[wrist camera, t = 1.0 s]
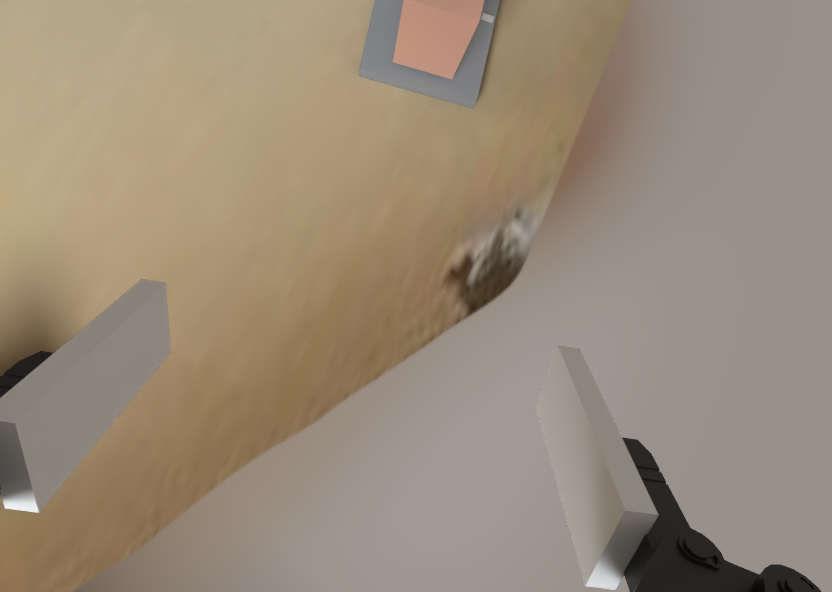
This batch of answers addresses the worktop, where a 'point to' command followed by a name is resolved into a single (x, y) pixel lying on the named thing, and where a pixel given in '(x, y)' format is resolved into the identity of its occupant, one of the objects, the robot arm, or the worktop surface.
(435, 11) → the terracotta plug block
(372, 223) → the worktop surface
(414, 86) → the slate track
